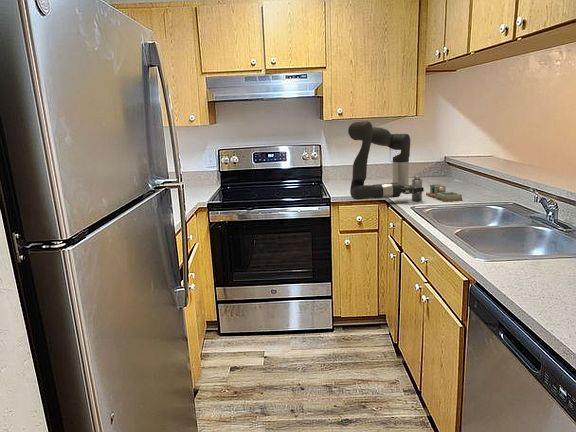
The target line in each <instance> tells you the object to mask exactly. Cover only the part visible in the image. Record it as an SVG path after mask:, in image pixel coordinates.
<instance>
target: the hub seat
mask: <svg viewBox="0 0 576 432" xmlns="http://www.w3.org/2000/svg"><path fill="white" fill-rule="evenodd" d="M437 197H439V198H442V199H457V198H462V199H463V194H461V193H459V192H458V193H457V192H455V191H447V192H446V191H445V193H437Z"/></svg>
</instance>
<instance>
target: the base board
mask: <svg viewBox="0 0 576 432" xmlns="http://www.w3.org/2000/svg"><path fill="white" fill-rule="evenodd" d="M425 195H426V196H428V197H430V198H432V199H436V200H438V201H440V202H443V203H444V202H446V203H447V202H448V203H449V202H458V201H459V202H460V201H463V197H462V198H457V199H442V198H439V197H437V195H436V194H435V193H430V192H426V193H425Z"/></svg>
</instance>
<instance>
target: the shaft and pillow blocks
mask: <svg viewBox="0 0 576 432" xmlns="http://www.w3.org/2000/svg"><path fill="white" fill-rule="evenodd" d="M429 186H430V187H429V193H435V194H436V195H437V193H445V192H446V185H442V184H441V183H435V184H434V183H433V184H429Z"/></svg>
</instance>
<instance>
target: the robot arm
mask: <svg viewBox="0 0 576 432" xmlns="http://www.w3.org/2000/svg"><path fill="white" fill-rule="evenodd" d="M347 132H348V136H349V138H351V139H352V140H354V141H361V142H362V143H361V147H360V149H359V152H358V153H357V155H356V157H355V158H354V160H353V164H352V178H351V185H350V190H349V193H350V196H351V198H352V199H354V200H367V199H382V198H383V199H389V198H391V199H392V198H399V197H400V196H401V195H402V194H403V195H412V194H414V193H415V194H416V193H417V192H422V193H423V192H424V191H425V190H424V187H423V186H422V187H419V188H416V187H415V188H413V187H412V184H411V185H410V183H409V182H410V179H409V178H410V177H409V175H410V174H409V173H410V171H409V169H410V167H409V166H410V165H409V164H410V162H409V161H410V155H411V137H410V135H409V133H391V132H390V131H389V130H388V129H385V128H383V127H377V126H373V125H372V123H371V122H370V121H368V120H362V121H356V122H353V123H351V124H350V125H349V127H348V130H347ZM371 144H374V145H375V146H376V145H377V146H380V147H388V148H390V149H391V150H395V151H396V150H397V151H400V153H398V154H397V155H394V156H393V157H392V182H387V183H386V182H385V183H379V184H378V183H377V184H367V185H366V184H365V181H366V179H367V174H368V169H367V168H368V159H369V153H370V150H371ZM412 190H414V191H412Z"/></svg>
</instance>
